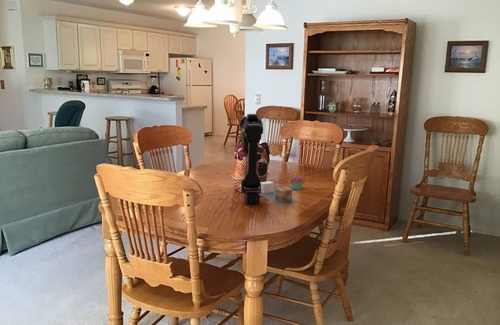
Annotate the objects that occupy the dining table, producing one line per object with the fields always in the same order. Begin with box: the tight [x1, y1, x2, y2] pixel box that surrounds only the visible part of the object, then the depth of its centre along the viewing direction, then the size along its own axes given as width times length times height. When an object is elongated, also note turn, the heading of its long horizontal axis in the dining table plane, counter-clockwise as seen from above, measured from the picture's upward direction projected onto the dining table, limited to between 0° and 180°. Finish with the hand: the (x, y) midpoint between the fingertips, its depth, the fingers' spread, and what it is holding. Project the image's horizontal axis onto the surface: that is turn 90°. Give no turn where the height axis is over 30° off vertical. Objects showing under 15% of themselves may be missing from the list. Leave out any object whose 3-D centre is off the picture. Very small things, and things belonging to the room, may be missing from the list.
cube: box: [274, 186, 294, 203], centre depth 204 cm, size 6×6×6 cm
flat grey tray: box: [259, 180, 300, 206], centre depth 211 cm, size 11×25×6 cm, turn 27°
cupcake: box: [288, 168, 306, 191], centre depth 229 cm, size 9×8×12 cm
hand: (248, 170), depth 219 cm, fingers open, 9 cm apart
